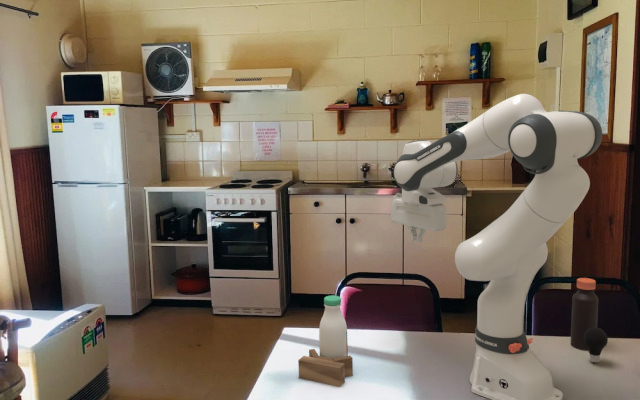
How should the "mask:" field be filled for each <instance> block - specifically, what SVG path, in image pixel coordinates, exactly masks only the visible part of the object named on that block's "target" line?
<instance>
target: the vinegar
mask: <svg viewBox="0 0 640 400" xmlns="http://www.w3.org/2000/svg"><path fill="white" fill-rule="evenodd" d="M596 281H597V280H595V279H594V278H588V277H579V278H577V279H576V289H577V291H576V292H575V293H573V295H572V302H571V303H572V304H571V305H572V306H571V323H570V324H571V326H570V345H571V346H572V347H573V348H575V349H578V350H581V351H589V350H588V346H587V345H586V343H585V341H584V333H585V331H586V330H587V329H589V328H592V327H597V328H598V320H599V319H598V318H599V317H598V316H599V300H600V299H599V296H597V294H596V293H595V291H596V285H597V284H596V283H597V282H596Z"/></svg>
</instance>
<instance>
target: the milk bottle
mask: <svg viewBox="0 0 640 400" xmlns="http://www.w3.org/2000/svg"><path fill="white" fill-rule="evenodd" d="M323 306H324V312H323V315H322V316H321V320H320V322H319V329H318V330H319V331H318V332H319V336H318V338H319V339H318V340H319V345H318V346H319V356H322V357H327V358H332V359H335V358H340V357H345V356H349V355H348V354H349V353H348V349H349V348H348V345H349V344H348V326H347V322H346V321H347V320H346V319H345V317H344V314H343V312H342V310H341V306H342V298H341V297H340V296H339V295H332V294H331V295H327V296H325V297H324V298H323Z"/></svg>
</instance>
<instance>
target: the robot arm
mask: <svg viewBox="0 0 640 400" xmlns="http://www.w3.org/2000/svg"><path fill="white" fill-rule="evenodd" d="M602 141H603V129H602V126H601V123H600V122H599V120H597V118H595V117H594V116H593V115H591V114H588V113H586V112H582V111H578V110H555V111H547V110H546V109H545V108H544V106H543V104H542V102H540V100H539V99H538V98H536V97H535V96H533V95H532V94H528V93H519V94H517V95H514V96H511V97H509V98H507V99H504V100H503V101H501V102H498V103H497V104H495V105H494V106H492V107H490V108H489V109H488V110H485V112H483V113H481V114H480V115H479V116H477V117H475V118H474V119H472V120H471V121H469V122H468V123H466V124H465V125H463V126H461V127H459V128H458V129H456V130H454V131H452V132H451V133H449V134H447V135H445V136H443V137H441V138H440V139H439V138H438V139H437V140H436V141H434V142H431V141H430V140H427V139H418V140H411V141H409V142H406V143H405V145H404V146H403V150H402V155H401V156H400V157H398V159H397V160H396V162H395V163H394V164H395V165H394V167H393V173H392V175H393V177H394V178H393V179H394V180H395V182H396V185H398V186H399V187H400V188H401V193H400V192H396V193H395V194H394V195H393V197H392V203H391V208H390V219H391V222H392V223H395V224H399V225H404V226H408V230H409V234H410V237H411V241H412V242H416V243H423V236H424V235H425V234H426V233H425V232H427V231H428V230H429V231H432V232H441V231H445V229H446V228H447V209H446V206H445V205H444V204H445V203H446V202H447V198H446V196H445V195H443V194H442V193H440V192H438V191H437V190H435V188H444V187H448V186H451V185H453V183H454V182H455V181H456V179H457V176H458V172H459V171H458V170H459V169H458V163H457V162H460V161H461V162H462V161H470V160H472V161H473V160H485V159H486V160H487V159H492V158H496V157H499V156H502V155H504V154H507V153H508V152H511V154H512V156H513V157H514V159H515V160H516V161H517V162H518V163H519V164H521V165H522V167H523V170H525V172H527V173H530V174H533V175H534V177H533V179H532V180H531V182H530V183H528V185H527V186H526V188H525V189H524V190H523V191H522V192H521V193H520V195H519V196H518V197H517V199H516V200H515V201H514V202H513V204H512V205H511V206H510V207H509V208H508V209H507V210H506V211H505V212H504V213H503V214H502V215H500V216H499V217H498V218H496V219H495V220H494V221H492V222H491V223H490V224H488V225H487V226H486V227H485V228H483V229H482V230H481V231H479V232H478V233H477V234H475V235H473V236H472V237H470V238H468V239H466V240H464V241H462V242H461V243H459V244H458V246H457V247H456V249H455V254H454V263H455V267H456V270H457V271H458V272H459V274H460V275H461V276H462V277H463V278H464V279H466V280H468V281H474V282H488V285H487V286H486V288H485V289H484V290H483V291H482V292H481V293H480V295H479V296H478V299H477V311H476V312H477V315H476V316H477V318H476V319H477V320H476V322H477V323H476V326H475V327H474V328H475V331H474V342H475V343H476V345H475V355H474V360H473V366H472V370H471V372H470V376H469V382H470V384H471V390H470V391H471V392H472V393H474V394H476V395H478V396H481V397H484V398H486V399H489V400H563V399H564V395H563V394H564V393H563V392H562V391H561V390H559V389H558V388H556V387H554V384H553V383H554V382H553V376H552V373H551V371H550V369H549V368H548V367H547V366H546V365H545V364H544V363H543V362H542V361H541V360H540V358H539V357H537V355H536V354H535V353H534V351H532V350H531V349H530V345H529V344H532V343H533V339H534V338H533V337H531V338H529V339H527V338H528V337H527V334H526V332H525V330H524V323H525V322H524V320H525V319H524V316H525V305H526V301H527V296H528V293H529V290H530V287H531V284H532V283H533V280H534V279H535V276H536V274H537V273H538V272H539V270H540V269H541V268H542V267H543V266H544V264H545V263H546V262H547V259H548V254H549V251H548V246H547V242H548V241H549V240H550V239H551V238H552V237H553V236H554V235H555V234H556V232H557V231H559V230H560V228H561V227H562V226H563V225H564V224H565V223H566V222H567V221H568V220H569V219H570V218H571V216H572V215H573V214H574V213H575V211H577V209H578V208H579V206H580V204H582V202H583V200H584V199H585V197H586V195H588V194H587V193H588V191H589V189H590V185H591V182H590V177H589V175H588V173H587V172H586V171H585V169H584V168H582V166H581V165H580V164H579V162H578V160H582V159H584V158H587V157H588V156H590V155H592V154H594V153H595V152H596V151H597V150H598V148H599V147H600V146H601V143H602Z"/></svg>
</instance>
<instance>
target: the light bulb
mask: <svg viewBox="0 0 640 400" xmlns="http://www.w3.org/2000/svg"><path fill="white" fill-rule="evenodd" d="M584 341H585V343H586V345H587V346H588V350H587V351H588V353H589V361H591V363H593V364H597V363H599V362H600V358H601V354H602V351H603V350H604V348H605V347H606V346H607V344H608V341H609V339H608V335H607V333H606V332H605V331H604V330H603V329H602V328H599V327H598V326H597V327H592V328H589V329H587V330H586V331H585V333H584Z"/></svg>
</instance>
